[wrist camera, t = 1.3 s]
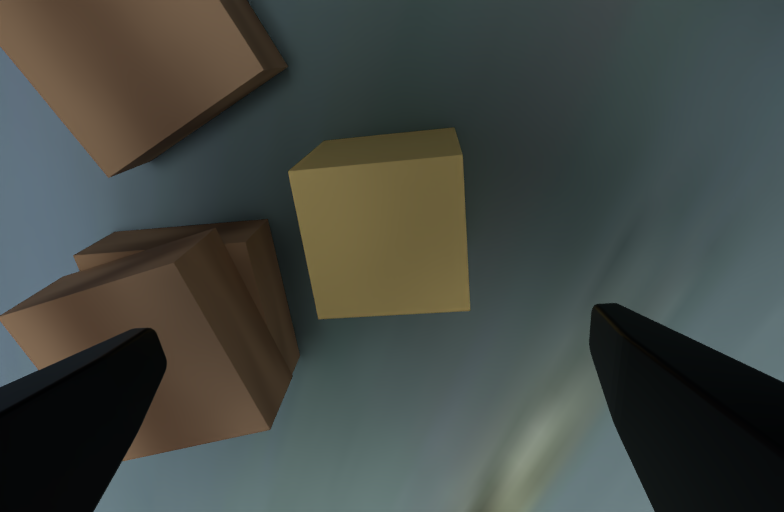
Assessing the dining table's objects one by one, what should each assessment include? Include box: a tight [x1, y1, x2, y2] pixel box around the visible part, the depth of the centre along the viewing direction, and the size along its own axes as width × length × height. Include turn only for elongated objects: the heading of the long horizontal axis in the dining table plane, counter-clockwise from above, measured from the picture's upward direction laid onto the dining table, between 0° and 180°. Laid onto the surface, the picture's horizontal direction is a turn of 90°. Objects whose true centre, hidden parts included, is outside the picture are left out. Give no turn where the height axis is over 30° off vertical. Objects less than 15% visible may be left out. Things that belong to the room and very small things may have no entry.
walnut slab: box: [0, 0, 288, 178], centre depth 15 cm, size 7×7×3 cm
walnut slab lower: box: [73, 219, 300, 374], centre depth 20 cm, size 7×7×3 cm
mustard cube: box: [288, 127, 470, 319], centre depth 16 cm, size 5×5×5 cm
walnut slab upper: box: [0, 228, 293, 461], centre depth 17 cm, size 7×7×3 cm
